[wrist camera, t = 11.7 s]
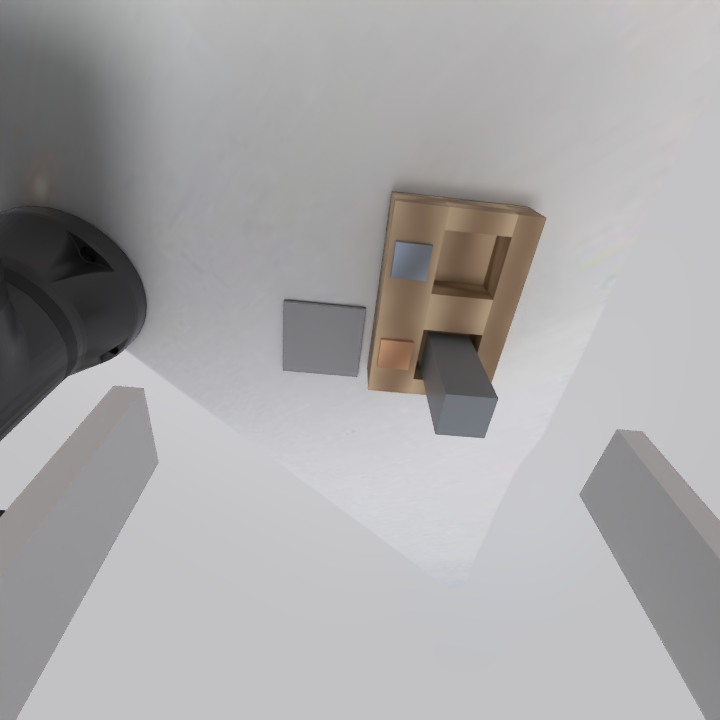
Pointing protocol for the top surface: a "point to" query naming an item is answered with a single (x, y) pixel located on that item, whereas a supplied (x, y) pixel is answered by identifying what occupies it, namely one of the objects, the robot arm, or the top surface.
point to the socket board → (447, 281)
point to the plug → (455, 384)
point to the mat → (322, 338)
